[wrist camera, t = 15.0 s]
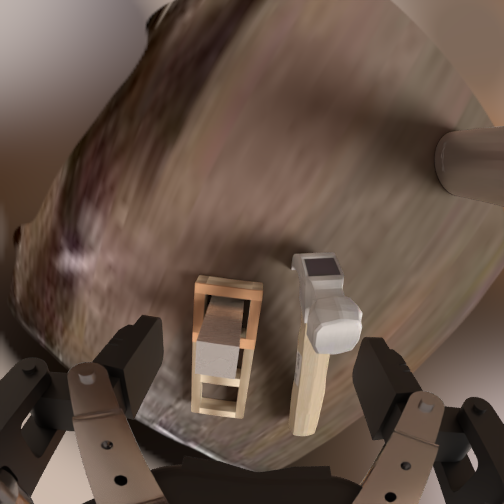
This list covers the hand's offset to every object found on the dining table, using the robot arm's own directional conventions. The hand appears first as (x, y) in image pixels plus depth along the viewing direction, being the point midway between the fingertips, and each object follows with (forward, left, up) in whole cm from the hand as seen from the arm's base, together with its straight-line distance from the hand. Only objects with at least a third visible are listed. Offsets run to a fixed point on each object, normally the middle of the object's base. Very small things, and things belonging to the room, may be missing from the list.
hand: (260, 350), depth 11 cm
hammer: (-9, +16, -26) cm, 32 cm away
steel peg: (+3, +11, -26) cm, 28 cm away
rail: (+3, +18, -26) cm, 31 cm away
